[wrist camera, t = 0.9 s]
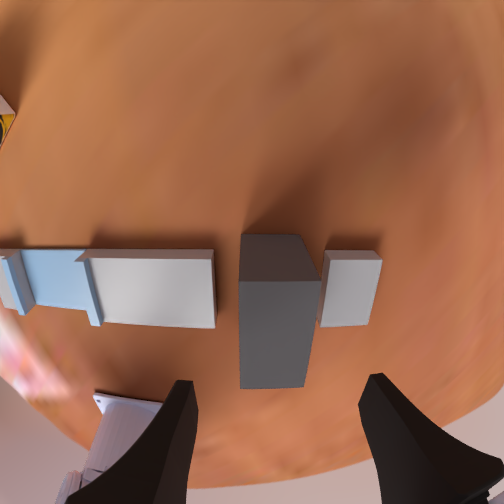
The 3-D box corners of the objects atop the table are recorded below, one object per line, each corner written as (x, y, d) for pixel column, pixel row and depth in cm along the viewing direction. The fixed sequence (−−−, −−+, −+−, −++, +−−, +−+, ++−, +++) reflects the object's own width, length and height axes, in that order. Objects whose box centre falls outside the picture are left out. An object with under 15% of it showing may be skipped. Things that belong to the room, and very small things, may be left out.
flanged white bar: (360, 312, 21) (370, 329, 19) (13, 298, 20) (1, 310, 18) (373, 250, 19) (386, 264, 17) (-3, 248, 18) (-17, 258, 16)
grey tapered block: (291, 325, 21) (303, 387, 15) (241, 325, 21) (240, 388, 15) (299, 234, 18) (321, 281, 13) (241, 233, 18) (238, 281, 13)
